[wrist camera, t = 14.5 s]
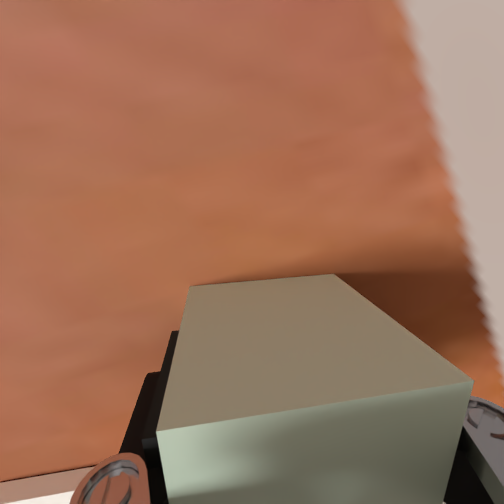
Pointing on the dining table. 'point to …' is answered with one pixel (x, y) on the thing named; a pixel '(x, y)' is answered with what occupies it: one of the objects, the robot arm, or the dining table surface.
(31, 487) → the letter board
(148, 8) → the dining table surface
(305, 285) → the sage green cube
